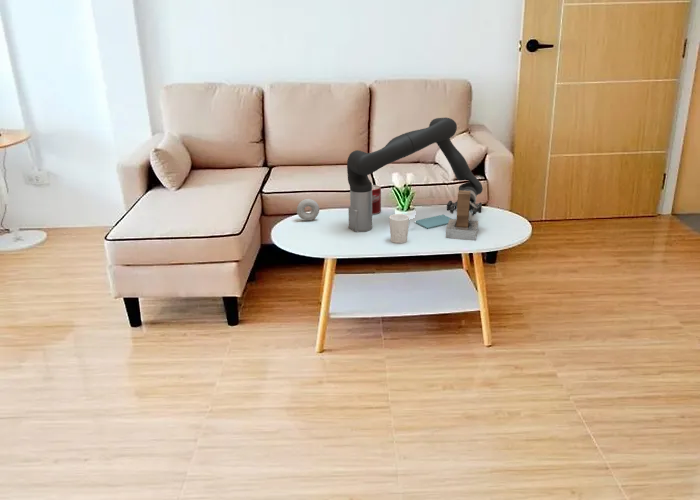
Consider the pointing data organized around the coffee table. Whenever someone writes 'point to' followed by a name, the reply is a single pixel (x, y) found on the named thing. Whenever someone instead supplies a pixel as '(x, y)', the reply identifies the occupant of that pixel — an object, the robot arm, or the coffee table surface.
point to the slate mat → (433, 221)
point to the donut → (310, 203)
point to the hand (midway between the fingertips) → (462, 212)
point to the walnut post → (463, 209)
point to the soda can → (376, 199)
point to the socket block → (462, 230)
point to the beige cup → (399, 227)
